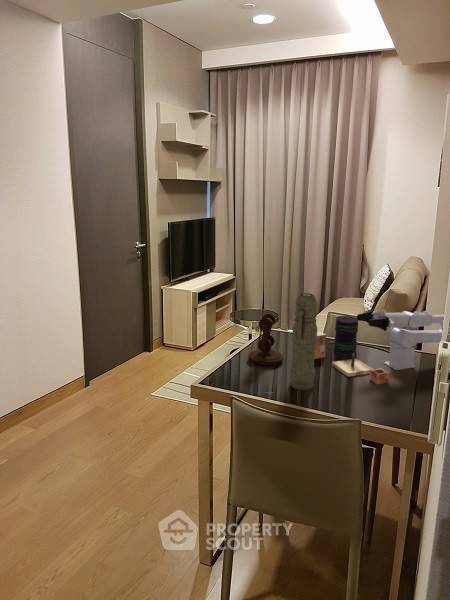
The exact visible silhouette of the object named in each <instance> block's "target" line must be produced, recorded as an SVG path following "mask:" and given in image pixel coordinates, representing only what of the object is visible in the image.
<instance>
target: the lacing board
mask: <svg viewBox="0 0 450 600" xmlns="http://www.w3.org/2000/svg"><path fill="white" fill-rule="evenodd" d="M331 366H332V367H333V368H334V369H336V370H337V371H339V372H340V373H342V374H343V375H345V376H346V377H349V378H350V377H354V376H356V377H357V376H361V375H368V374H369V375H370V370H371V369H374V368H373V367H371V366H370V365H367V364H366V363H364V362H362V360H359V359H358V358H356V353H354V354H351V359H344V360H337V361H332V362H331Z"/></svg>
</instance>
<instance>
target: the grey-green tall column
mask: <svg viewBox="0 0 450 600" xmlns="http://www.w3.org/2000/svg"><path fill="white" fill-rule="evenodd" d="M294 308H295V309H294V310H295V313H294V315H295V318H294V322H293V325H292V337H291V339H292V344H293V345H292V361H291V362H292V365H291V367H290V377H289V378H290V387H292V388H293V389H295V390H298V391H299V390H300V391H308V390H312V389H313V388H314V385H315V384H314V381H315V377H316V376H315V375H316V371H315V370H316V369H315V366H314V365H315V359H314V354H315V344H316V342H317V331H318V326H317V314H318V302H317V297H316V295H315V294H312V293H309V292H307V293H306V292H303V293H300V294H298V295H297V298H296V301H295V307H294Z"/></svg>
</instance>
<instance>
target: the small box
mask: <svg viewBox="0 0 450 600" xmlns="http://www.w3.org/2000/svg"><path fill="white" fill-rule="evenodd" d="M326 343H327V334H325V333H323V332H321V331H320V330H317V342H316V344H315V354H314V360H316V359H323V358H325V356H326V346H327V345H326Z"/></svg>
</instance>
